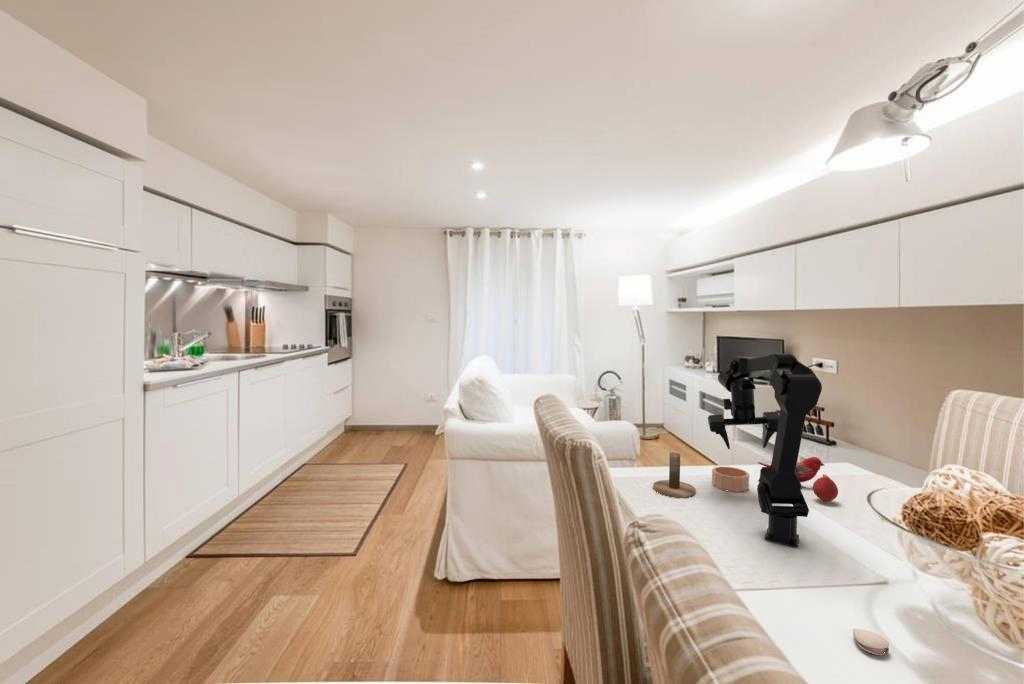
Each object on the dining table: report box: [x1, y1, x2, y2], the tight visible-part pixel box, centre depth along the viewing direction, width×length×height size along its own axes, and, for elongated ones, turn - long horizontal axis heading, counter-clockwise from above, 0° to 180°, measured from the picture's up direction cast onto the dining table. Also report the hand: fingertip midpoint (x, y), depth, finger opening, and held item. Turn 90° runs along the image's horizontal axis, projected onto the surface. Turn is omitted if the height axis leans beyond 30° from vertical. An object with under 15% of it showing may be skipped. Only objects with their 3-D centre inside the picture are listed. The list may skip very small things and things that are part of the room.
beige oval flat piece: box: [852, 628, 890, 656], centre depth 70 cm, size 4×5×2 cm
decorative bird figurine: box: [757, 456, 825, 488], centre depth 139 cm, size 3×18×10 cm, turn 64°
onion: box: [812, 473, 839, 503], centre depth 127 cm, size 6×6×8 cm
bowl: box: [711, 465, 750, 493], centre depth 139 cm, size 10×10×4 cm
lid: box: [652, 452, 697, 499], centre depth 135 cm, size 12×12×11 cm
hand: (746, 448), depth 131 cm, fingers open, 9 cm apart
